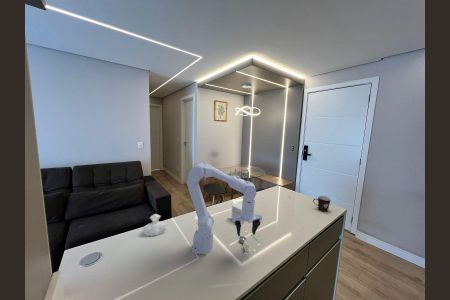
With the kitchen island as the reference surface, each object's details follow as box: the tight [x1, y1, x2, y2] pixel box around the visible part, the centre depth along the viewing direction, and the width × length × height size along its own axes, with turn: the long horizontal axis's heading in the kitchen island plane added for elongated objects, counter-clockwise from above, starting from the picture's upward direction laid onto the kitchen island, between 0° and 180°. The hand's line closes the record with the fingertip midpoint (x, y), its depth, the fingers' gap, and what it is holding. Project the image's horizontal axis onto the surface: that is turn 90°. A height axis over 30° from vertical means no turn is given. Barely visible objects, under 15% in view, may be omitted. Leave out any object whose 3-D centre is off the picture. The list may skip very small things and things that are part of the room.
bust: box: [143, 213, 168, 237], centre depth 95 cm, size 12×8×11 cm
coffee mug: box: [312, 195, 332, 213], centre depth 131 cm, size 12×9×10 cm
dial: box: [243, 230, 261, 255], centre depth 90 cm, size 18×18×1 cm
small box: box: [231, 203, 246, 225], centre depth 109 cm, size 8×6×10 cm
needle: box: [238, 235, 250, 253], centre depth 86 cm, size 9×4×4 cm, turn 10°
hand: (245, 234), depth 81 cm, fingers open, 7 cm apart
